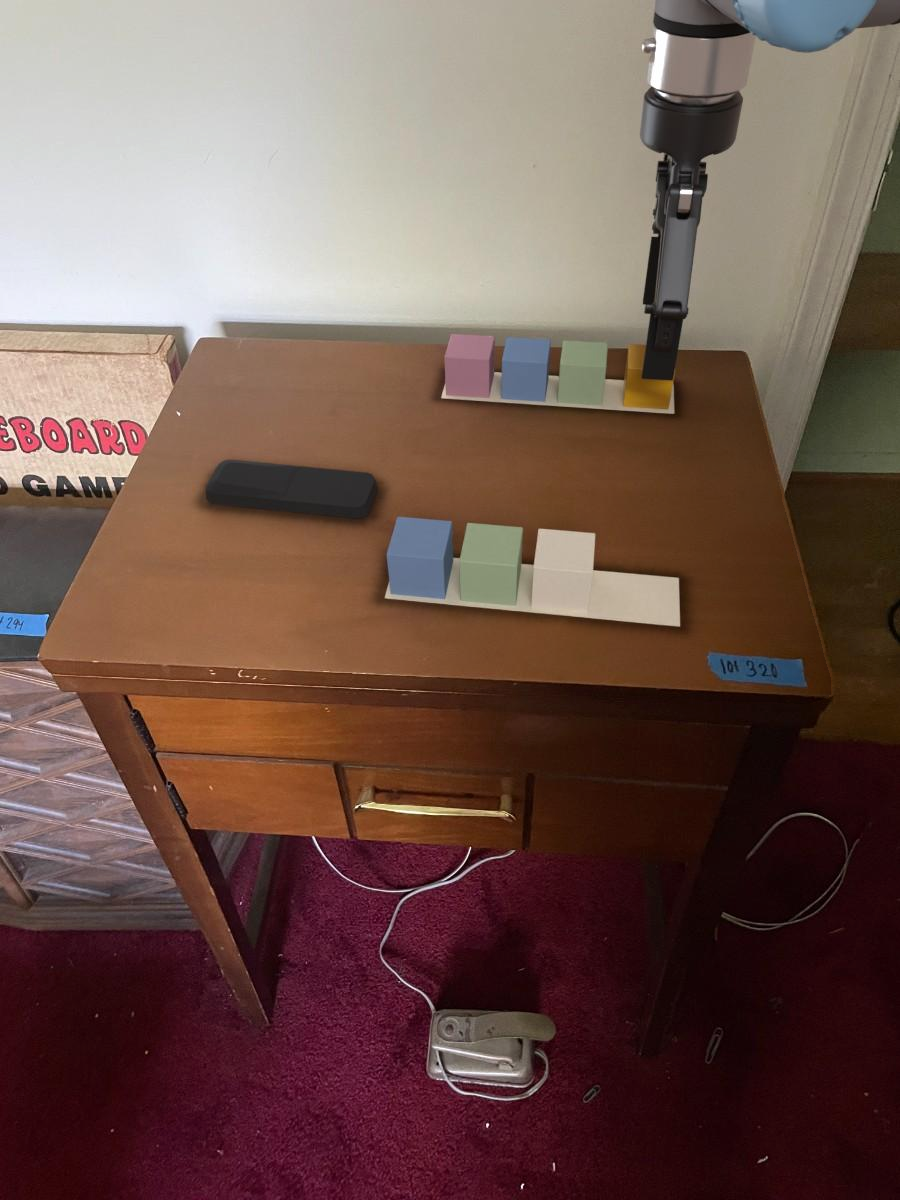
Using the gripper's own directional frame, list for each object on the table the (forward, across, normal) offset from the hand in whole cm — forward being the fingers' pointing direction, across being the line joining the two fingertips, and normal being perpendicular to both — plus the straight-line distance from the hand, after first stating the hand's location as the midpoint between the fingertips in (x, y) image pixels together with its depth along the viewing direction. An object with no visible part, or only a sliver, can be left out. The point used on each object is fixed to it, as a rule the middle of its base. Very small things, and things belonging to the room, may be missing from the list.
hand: (656, 338), depth 84 cm
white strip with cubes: (+7, +28, -9) cm, 30 cm away
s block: (+7, 0, 0) cm, 7 cm away
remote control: (+7, +19, -31) cm, 37 cm away
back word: (+7, 0, -9) cm, 11 cm away
